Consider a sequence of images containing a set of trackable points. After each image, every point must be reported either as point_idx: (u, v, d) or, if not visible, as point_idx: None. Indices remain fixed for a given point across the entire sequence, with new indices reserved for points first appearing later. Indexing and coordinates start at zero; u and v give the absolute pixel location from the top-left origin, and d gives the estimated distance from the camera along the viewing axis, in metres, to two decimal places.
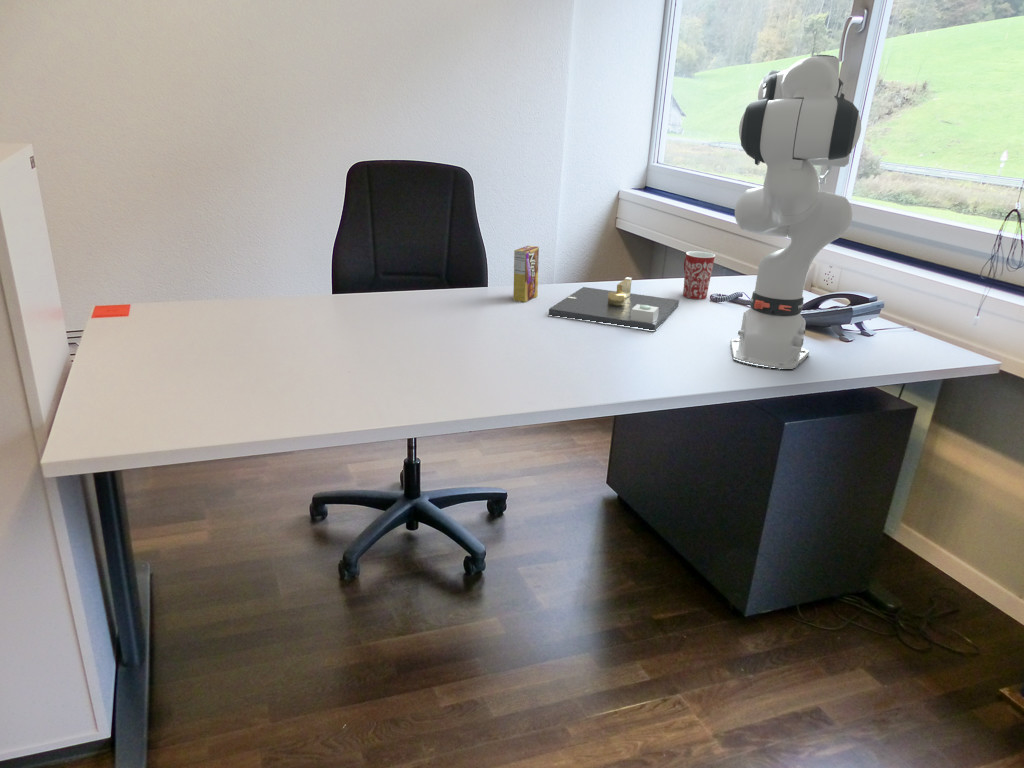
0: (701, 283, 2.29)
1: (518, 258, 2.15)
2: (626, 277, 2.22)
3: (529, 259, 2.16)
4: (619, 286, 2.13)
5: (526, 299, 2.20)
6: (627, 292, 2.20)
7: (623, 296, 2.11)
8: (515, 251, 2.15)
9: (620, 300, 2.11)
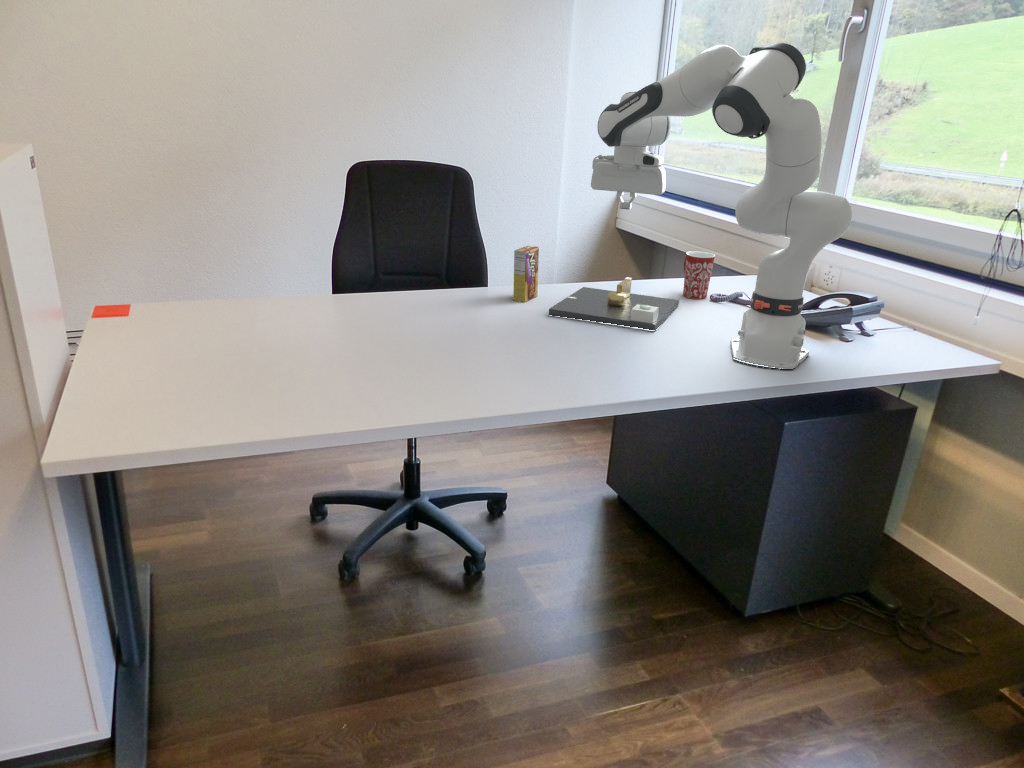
0: (701, 283, 2.29)
1: (518, 258, 2.15)
2: (626, 277, 2.22)
3: (529, 259, 2.16)
4: (619, 286, 2.13)
5: (526, 299, 2.20)
6: (627, 292, 2.20)
7: (623, 296, 2.11)
8: (515, 251, 2.15)
9: (620, 300, 2.11)
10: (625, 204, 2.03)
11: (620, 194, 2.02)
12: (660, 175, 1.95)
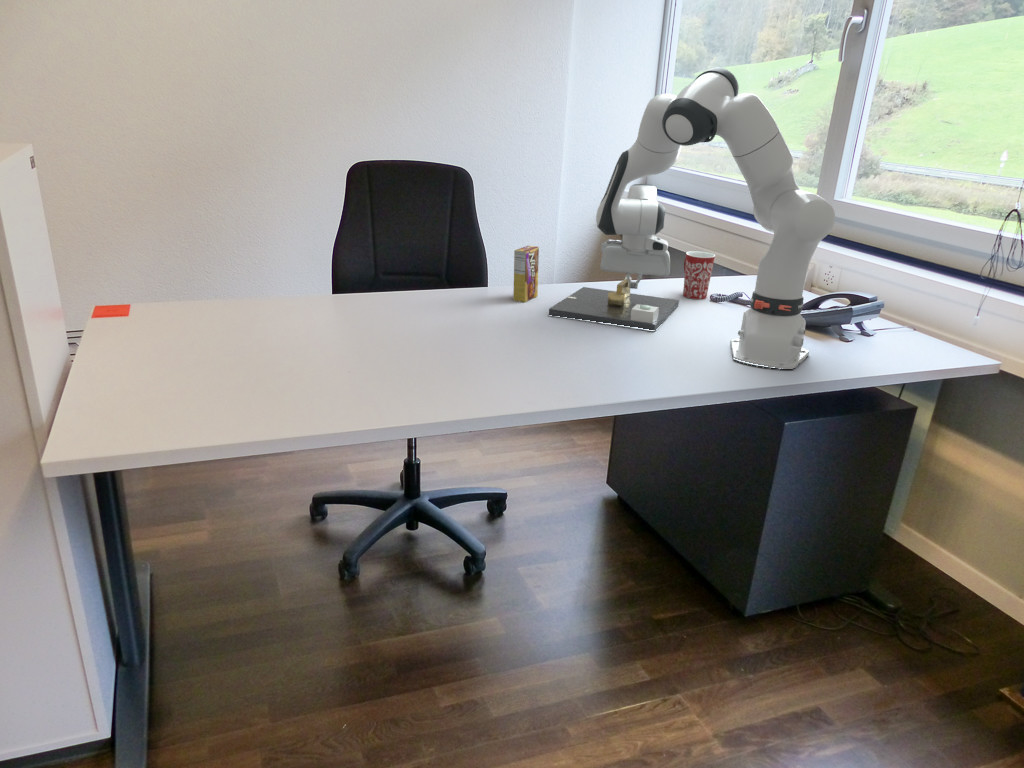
0: (701, 283, 2.29)
1: (518, 258, 2.15)
2: None
3: (529, 259, 2.16)
4: (619, 286, 2.14)
5: (526, 299, 2.20)
6: (627, 292, 2.20)
7: (623, 296, 2.11)
8: (515, 251, 2.15)
9: (620, 300, 2.11)
10: (634, 284, 2.18)
11: (629, 275, 2.17)
12: (668, 259, 2.12)
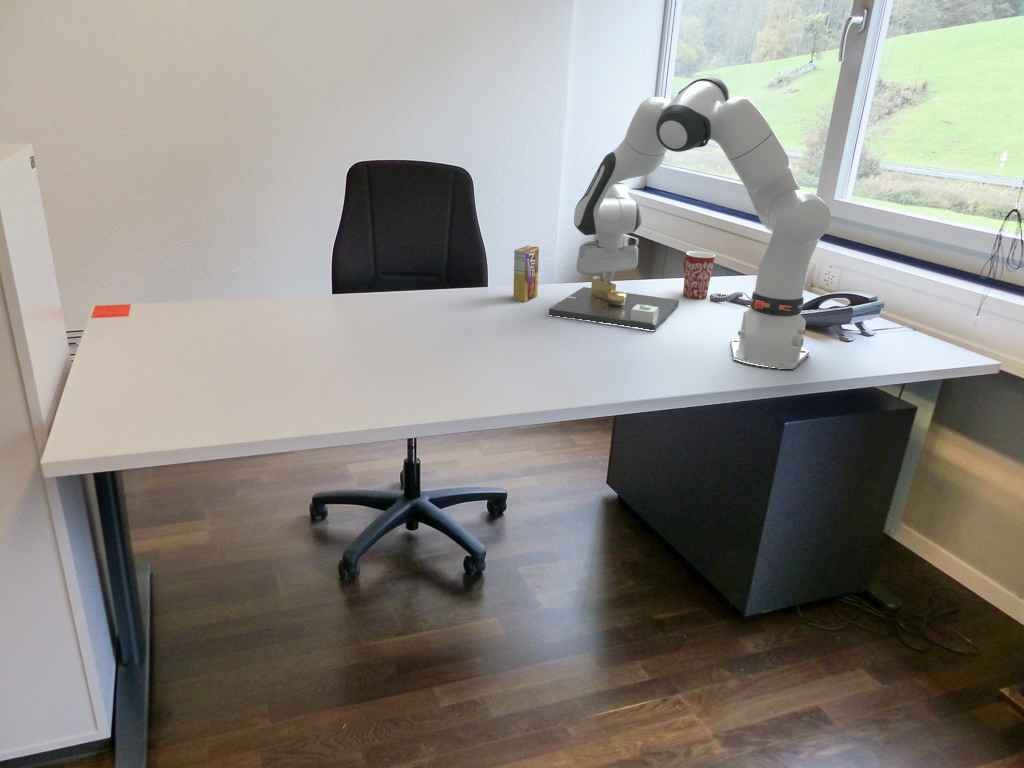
0: (701, 283, 2.29)
1: (518, 258, 2.15)
2: None
3: (529, 259, 2.16)
4: (613, 286, 2.13)
5: (526, 299, 2.20)
6: None
7: (625, 294, 2.13)
8: (515, 251, 2.15)
9: (625, 299, 2.12)
10: None
11: (605, 274, 2.18)
12: (637, 252, 2.20)
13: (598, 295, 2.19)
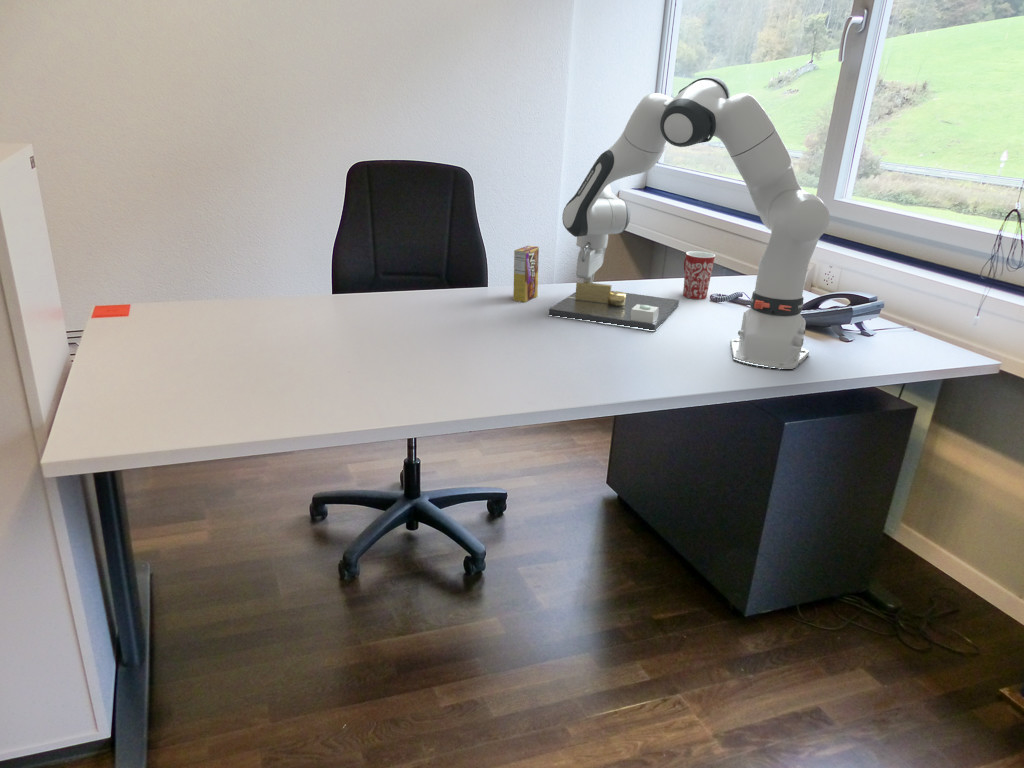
0: (701, 283, 2.29)
1: (518, 258, 2.15)
2: (578, 281, 2.14)
3: (529, 259, 2.16)
4: (610, 287, 2.12)
5: (526, 299, 2.20)
6: None
7: None
8: (515, 251, 2.15)
9: None
10: None
11: (591, 275, 2.15)
12: None
13: (588, 299, 2.15)
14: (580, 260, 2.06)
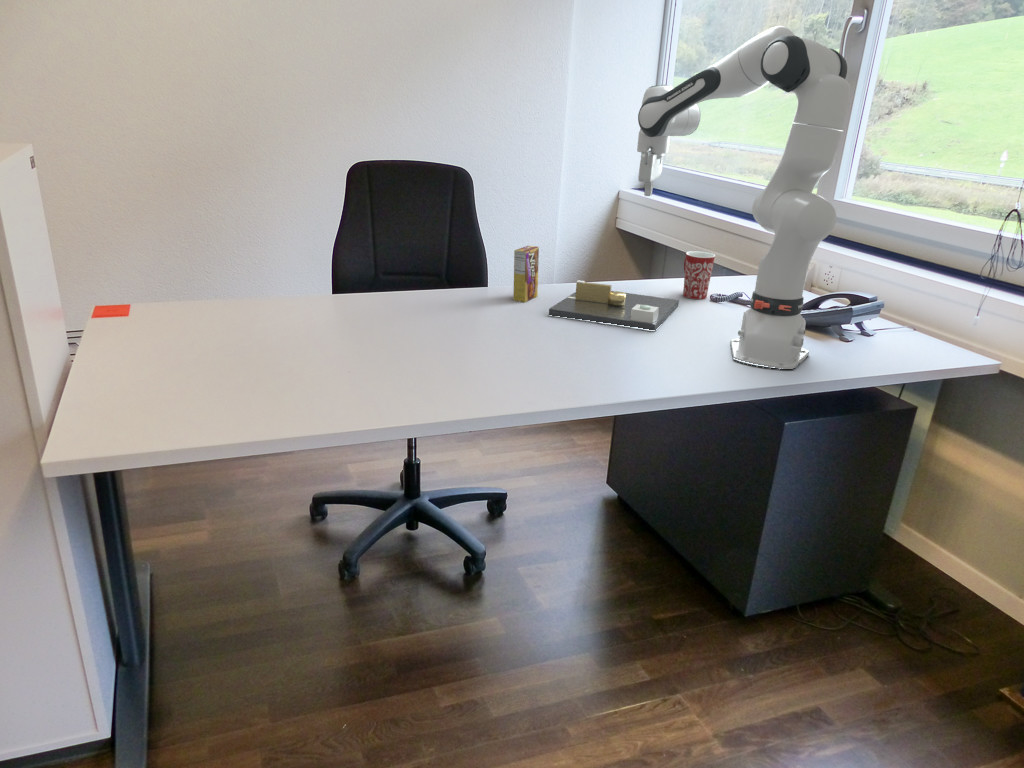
0: (701, 283, 2.29)
1: (518, 258, 2.15)
2: (578, 281, 2.14)
3: (529, 259, 2.16)
4: (610, 287, 2.12)
5: (526, 299, 2.20)
6: None
7: None
8: (515, 251, 2.15)
9: None
10: (651, 191, 2.16)
11: (652, 182, 2.14)
12: (663, 159, 2.21)
13: (588, 299, 2.15)
14: (643, 163, 2.05)
